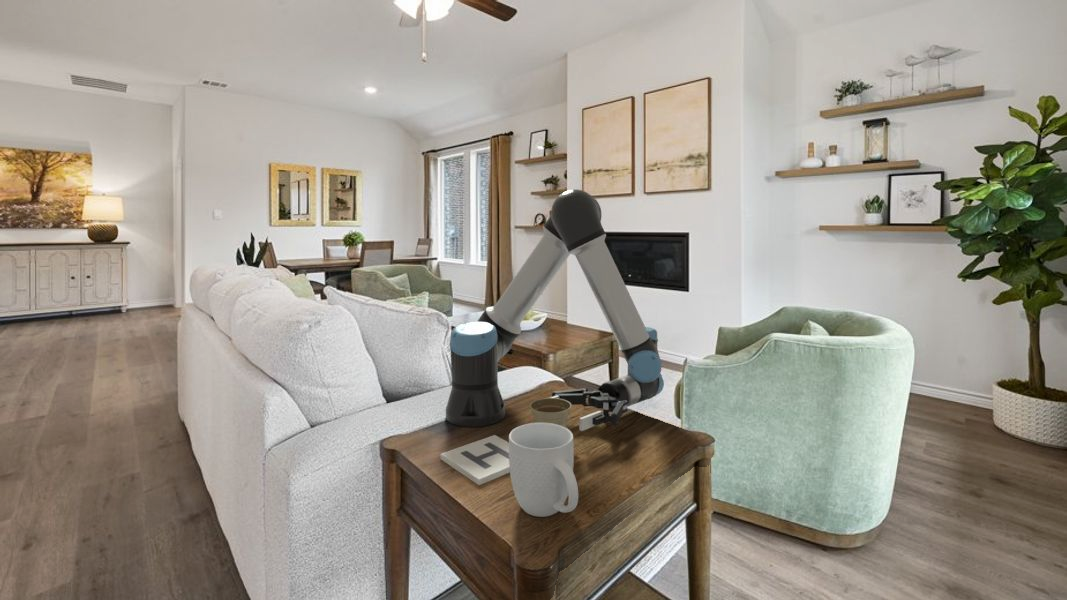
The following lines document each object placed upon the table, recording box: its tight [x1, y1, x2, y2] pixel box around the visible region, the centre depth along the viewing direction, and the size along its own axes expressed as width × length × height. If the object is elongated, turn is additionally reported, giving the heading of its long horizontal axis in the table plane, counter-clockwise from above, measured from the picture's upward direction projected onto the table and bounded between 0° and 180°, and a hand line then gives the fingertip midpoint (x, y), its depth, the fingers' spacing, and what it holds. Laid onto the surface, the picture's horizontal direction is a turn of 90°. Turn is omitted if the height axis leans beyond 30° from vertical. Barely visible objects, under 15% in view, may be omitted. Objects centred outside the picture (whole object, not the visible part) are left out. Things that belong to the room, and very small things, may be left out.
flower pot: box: [529, 397, 573, 428], centre depth 109 cm, size 9×9×9 cm
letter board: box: [440, 434, 510, 486], centre depth 101 cm, size 14×14×1 cm
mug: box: [508, 422, 579, 518], centre depth 82 cm, size 15×11×13 cm
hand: (558, 415), depth 110 cm, fingers open, 13 cm apart
